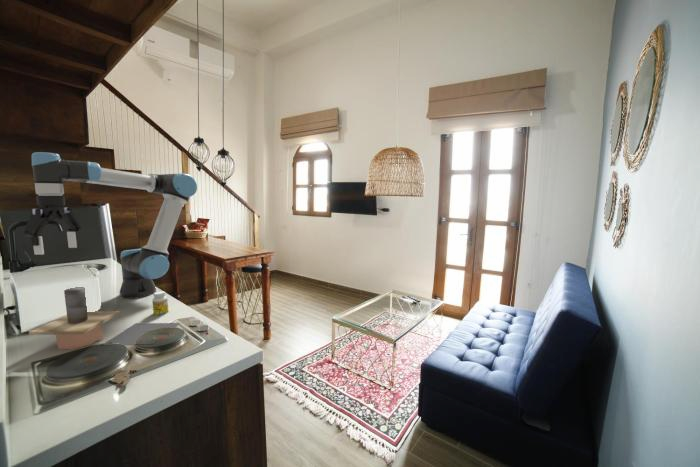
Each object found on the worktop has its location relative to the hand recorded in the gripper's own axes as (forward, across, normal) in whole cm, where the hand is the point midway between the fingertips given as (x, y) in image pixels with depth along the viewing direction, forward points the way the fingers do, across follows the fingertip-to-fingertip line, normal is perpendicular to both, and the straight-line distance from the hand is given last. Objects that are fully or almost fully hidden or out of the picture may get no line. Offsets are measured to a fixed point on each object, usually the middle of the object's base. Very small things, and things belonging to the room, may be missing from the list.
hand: (57, 250), depth 114 cm
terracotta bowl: (+29, +17, +20) cm, 39 cm away
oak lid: (+22, +17, +20) cm, 34 cm away
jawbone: (+29, +33, +54) cm, 70 cm away
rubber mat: (+29, +12, +38) cm, 49 cm away
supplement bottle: (+29, -7, +33) cm, 44 cm away
